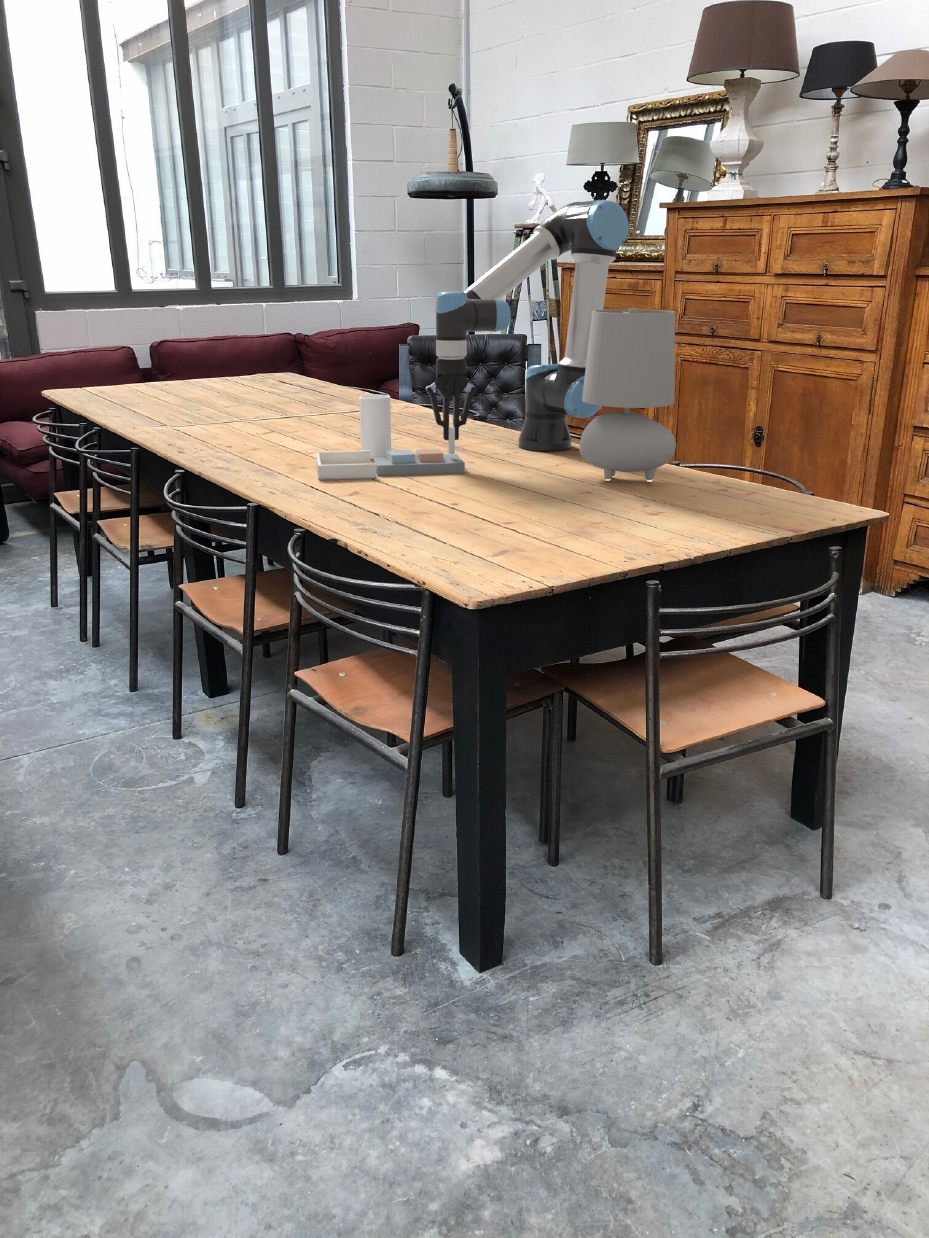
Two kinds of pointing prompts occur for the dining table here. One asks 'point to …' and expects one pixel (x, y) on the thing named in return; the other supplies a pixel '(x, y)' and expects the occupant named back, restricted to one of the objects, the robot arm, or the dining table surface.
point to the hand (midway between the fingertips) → (450, 452)
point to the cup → (375, 424)
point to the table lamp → (629, 389)
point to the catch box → (345, 465)
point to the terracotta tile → (429, 455)
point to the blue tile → (400, 456)
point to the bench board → (420, 466)
